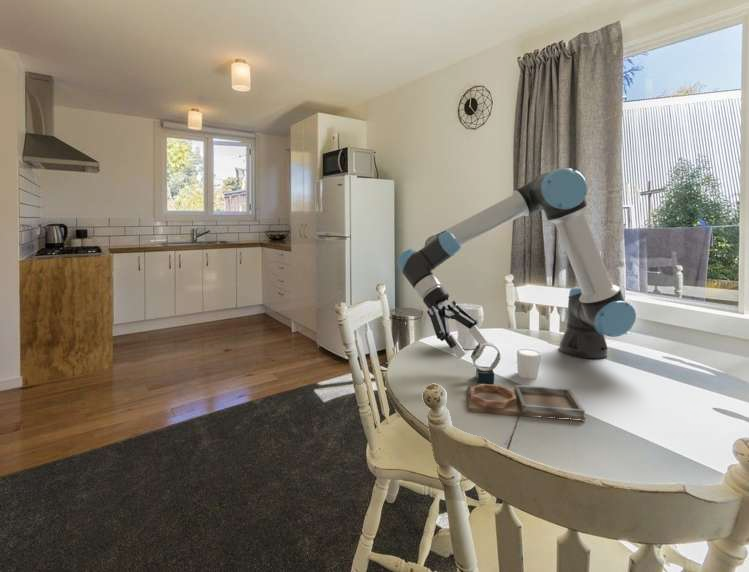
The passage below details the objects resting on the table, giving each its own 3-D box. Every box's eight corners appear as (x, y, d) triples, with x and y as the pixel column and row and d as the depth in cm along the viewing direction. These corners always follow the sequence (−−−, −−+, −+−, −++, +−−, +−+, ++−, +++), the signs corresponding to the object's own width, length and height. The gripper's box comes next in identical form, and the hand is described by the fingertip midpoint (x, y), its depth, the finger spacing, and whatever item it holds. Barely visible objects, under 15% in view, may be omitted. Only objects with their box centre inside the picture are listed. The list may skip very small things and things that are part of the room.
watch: (469, 375, 122) (470, 340, 121) (497, 377, 121) (499, 341, 120) (470, 383, 117) (472, 345, 115) (500, 384, 116) (502, 347, 114)
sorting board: (569, 398, 108) (570, 388, 107) (584, 421, 95) (585, 411, 95) (467, 389, 112) (467, 381, 112) (469, 411, 100) (469, 401, 99)
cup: (485, 351, 146) (487, 309, 143) (454, 350, 146) (456, 309, 143) (478, 342, 156) (480, 303, 154) (450, 342, 156) (451, 303, 154)
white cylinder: (537, 381, 119) (538, 357, 118) (512, 376, 122) (514, 353, 121) (541, 373, 125) (543, 351, 124) (518, 369, 128) (519, 347, 127)
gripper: (445, 295, 138) (485, 347, 131) (400, 306, 120) (443, 368, 112) (460, 281, 134) (502, 334, 127) (415, 290, 115) (461, 353, 108)
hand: (474, 350), depth 119 cm, fingers open, 13 cm apart
